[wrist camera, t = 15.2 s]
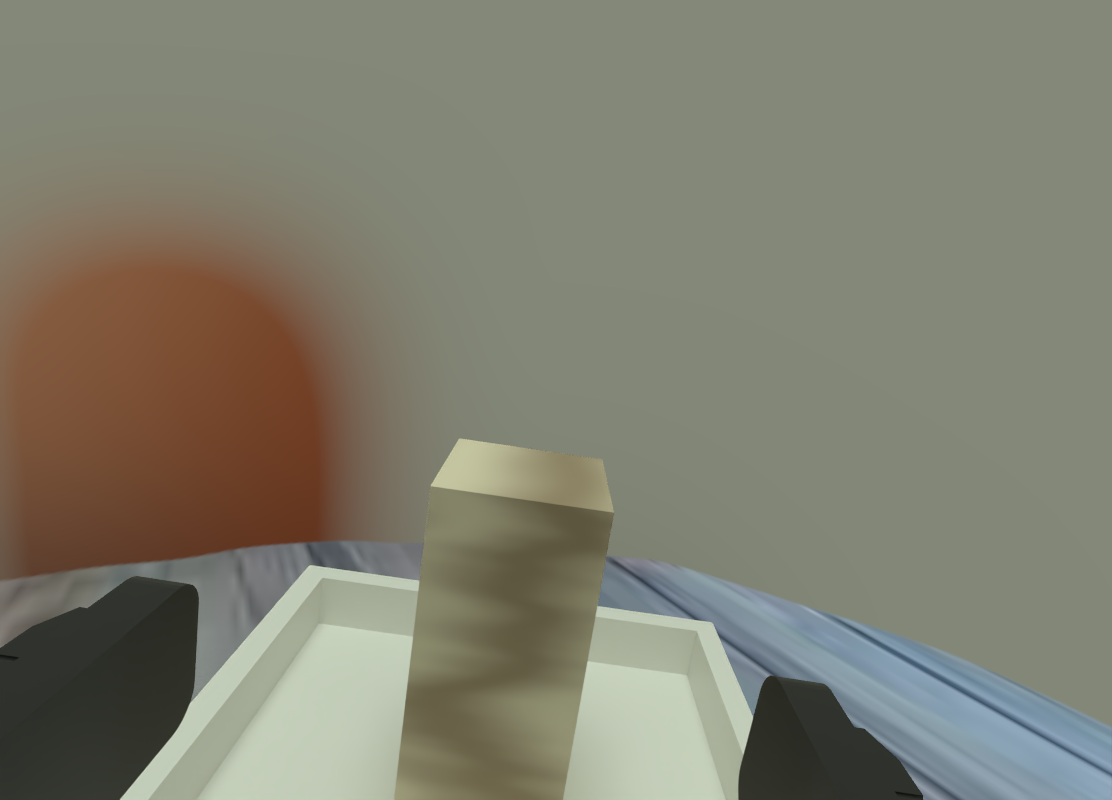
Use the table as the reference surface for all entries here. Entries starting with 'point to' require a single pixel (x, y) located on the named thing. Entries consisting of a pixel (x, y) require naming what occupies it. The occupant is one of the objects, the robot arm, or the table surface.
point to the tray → (380, 693)
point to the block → (503, 623)
